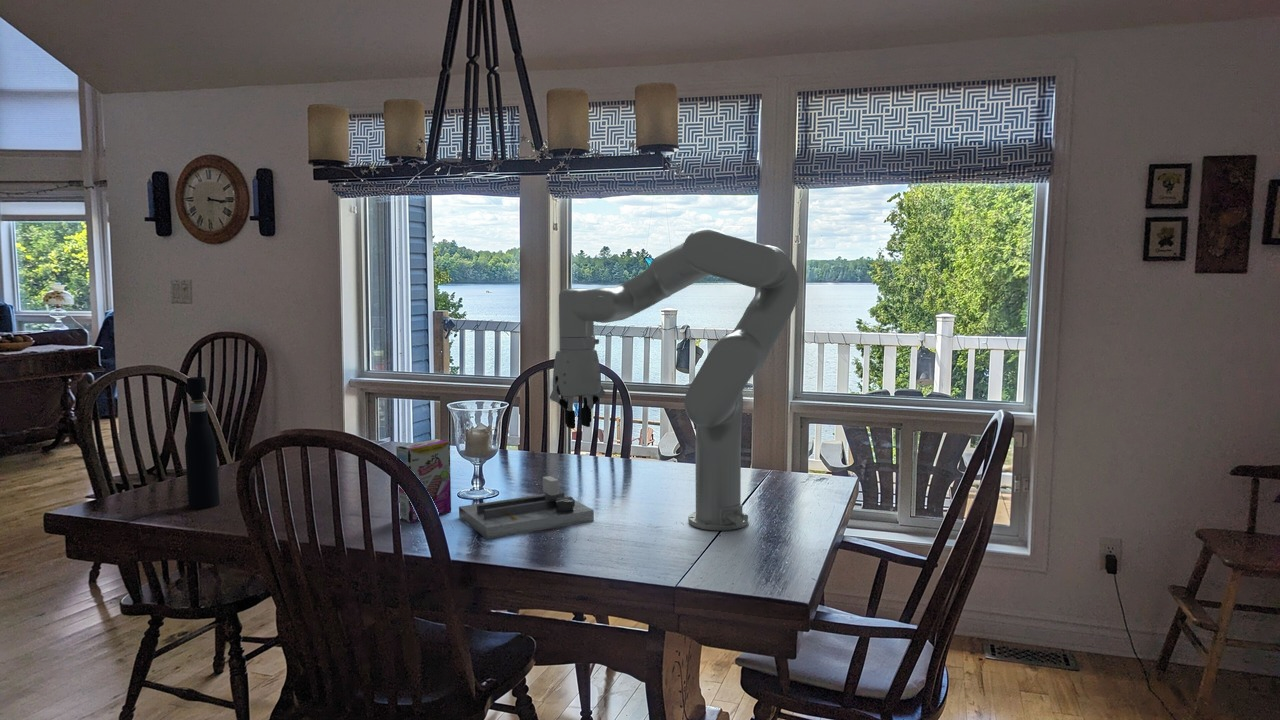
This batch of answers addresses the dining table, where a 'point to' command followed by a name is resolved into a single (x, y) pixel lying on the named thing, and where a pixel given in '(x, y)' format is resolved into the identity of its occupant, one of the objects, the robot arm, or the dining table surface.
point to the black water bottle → (200, 451)
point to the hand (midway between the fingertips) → (578, 426)
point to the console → (524, 515)
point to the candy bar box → (427, 474)
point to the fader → (550, 487)
